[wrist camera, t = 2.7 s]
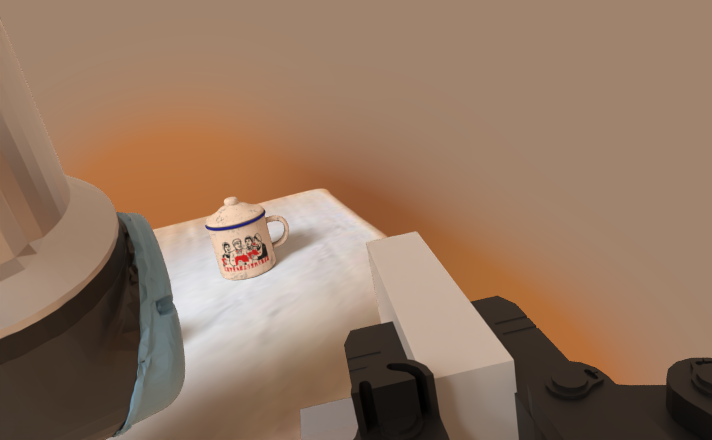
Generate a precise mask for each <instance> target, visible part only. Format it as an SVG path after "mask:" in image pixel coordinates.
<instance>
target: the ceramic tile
mask: <svg viewBox="0 0 712 440" xmlns="http://www.w3.org/2000/svg"><path fill="white" fill-rule="evenodd" d="M300 428H301V440H353V439H354V438H355V436H356V433H357V429H358V424H357V419H356V415H355V410H354V405H353V401H352V397H350V398H346V399H341V400H337V401H333V402H329V403H324V404H320V405H316V406H312V407H307V408H303V409H300Z"/></svg>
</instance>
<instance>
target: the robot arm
mask: <svg viewBox="0 0 712 440" xmlns="http://www.w3.org/2000/svg"><path fill="white" fill-rule="evenodd" d="M366 245H367V251H368V256H369V261H370V267H371V272H372V277H373V283H374V288H375V293H376V299H377V304H378V309H379V315H380V320H381V324H378V325H374V326H369V327H365V328H360V329H356V330H352V331H350V333H349V335H348V338H347V340H346V342H345V344H344V347H345V352H346V358H347V363H348V368H349V373H350V379H351V384H352V389H351V396H352V401H353V405H354V410H355V415H356V419H357V424H358V429H357V433H356V436H355V438H354V439H353V440H712V358H689V359H685V360H682V361H678V362H676V363H675V364H674V365H673V366H671V367H670V368H669V369H668V373H667V380H666V382H667V383H666V385H618V384H615V383H614V382H613V381H612V380H611V379H610V378H609V377H608V376H607V375H606V374H604V373H603V372H601V371H600V370H598V369H597V368H595V367H592V366H589V365H586V364H583V363H581V362H572V361H569V360H568V359H567V358H566V357H565V356H564V355H563V354H562V353H561V352H560V351H559V350H558V348H557V347H556V346H555V345H554V344H553V343H552V342H551V341H550V340H549V339H548V338H547V337H546V336H545V335H544V334H543V333H542V331H541V330H540V329H539V328H536V325H535V324H534V323H533V322H532V321H531V320H530V319H529V318H527V316H526V315H525V313H524V312H523V311H522V310H521V309H520V308H519V307H518V306H517V305H516V304H515V303H512V302H510V301H508V300H506V299H504V298H501V297H499V296H495V297H490V298H485V299H481V300H477V301H472V302H470V301H469V300H468V299H467V297H466V296H465V295H464V293H463V292H462V291H461V289H460V288H459V287H458V285H457V284H456V283H455V282H454V280H453V279H452V278H451V276H450V275H449V274H448V272H447V271H446V270H445V268H444V267H443V266H442V264H441V263H440V262H439V260H438V259H437V258H436V256H435V255H434V254H433V252H432V251H431V250H430V248H429V247H428V246H427V245H426V243H425V242H424V240H423V239H422V238H421V236H420V235H419V234H418V233H417V231H416V232H411V233H407V234H402V235H397V236H393V237H388V238H384V239H379V240H374V241H370V242H366ZM172 301H173V295H172V291H171V284H170V279H169V275H168V272H167V268H166V265H165V262H164V259H163V255H162V252H161V249H160V247H159V244H158V241H157V239H156V237H155V234H154V232H153V230H152V228H151V226H150V224H149V223H148V221H147V220H146V219H145V217H143V216H142V215H140V214H138V213H127V214H126V213H119V212H116V210H115V208H114V206H113V204H112V202H111V201H110V199H109V198H108V197H107V196H106V195H105V194H104V193H103V192H102V191H101V190H100V189H99V188H97V187H95V186H94V185H92V184H90V183H88V182H85V181H83V180H80V179H77V178H74V177H71V176H67V175H65V174H64V172H63V169H62V167H61V165H60V162H59V159H58V157H57V155H56V152H55V150H54V147H53V145H52V142H51V140H50V138H49V135H48V133H47V131H46V128H45V125H44V123H43V121H42V118H41V116H40V113H39V111H38V109H37V106H36V104H35V101H34V99H33V96H32V94H31V91H30V89H29V87H28V84H27V82H26V79H25V77H24V74H23V72H22V70H21V67H20V65H19V62H18V60H17V57H16V55H15V53H14V50H13V48H12V45H11V43H10V40H9V38H8V36H7V33H6V31H5V28H4V26H3V24H2V21H1V19H0V440H105V439H108V438H110V437H116V436H119V435H122V434H123V433H125V432H126V431H127V430H128V429H130V428H131V426H132V425H134V424H136V423H138V422H140V421H141V420H143V419H145V418H147V417H149V416H151V415H153V414H155V413H157V412H159V411H161V410H163V409H164V408H166V407H168V406H169V405H170V404H171V403H172V402H173V401H174V400H175V399H176V398H177V396H178V395H179V393H180V391H181V389H182V386H183V383H184V378H185V356H184V347H183V339H182V333H181V327H180V322H179V318H178V313H177V310H176V308H175V305H174V304H173V302H172Z"/></svg>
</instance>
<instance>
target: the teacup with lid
mask: <svg viewBox="0 0 712 440" xmlns="http://www.w3.org/2000/svg"><path fill="white" fill-rule="evenodd" d="M224 203H225V205H224V206H223V207H221V208H220V209H219V210H218V211H217V212H216V213H215V214H213V215H211V216H210V217H208V219H207V220H206V225H205V226H206V228H207V229H208V231H209V234H210V238H211V241H212V244H213V248H214V251H215V255H216V258H217V261H218V265H219V268H220V271H221V275H222V276H223V277H224V278H226V279H229V280H243V279H248V278H252V277H255V276H258V275H260V274H262V273H264V272H266V271H268V270H269V269H271V268H272V267H273V266H274V264H275V262H276V258H275V254H274V250H273V248H276V247H278V246H280V245H282V244H283V243H284V242H285V241H286V239H287V237H288V234H289V226H288V223H287V221H286V220H285V219H284V218H283V217H281V216H270V217H266V218H265V210H264V208H263V207H262V206H260V205H257V204H248V203H245V202H238V199H237V198H236V197H229V198H226V199H225V200H224ZM272 221H280V222H282V223H283V225H284V233H283V236H282V237H281V239H280V240H278V241H276V242H273V243H272V242H271V238H270V234H269V231H268V227H267V223H268V222H272Z"/></svg>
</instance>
